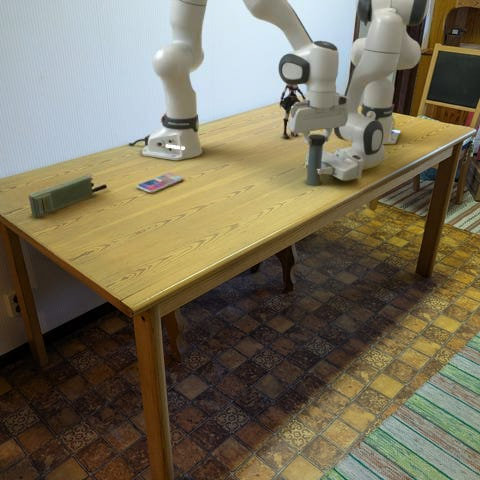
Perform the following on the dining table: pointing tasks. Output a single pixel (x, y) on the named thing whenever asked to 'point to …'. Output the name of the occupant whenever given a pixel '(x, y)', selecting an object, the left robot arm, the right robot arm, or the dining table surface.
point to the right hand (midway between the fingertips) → (312, 168)
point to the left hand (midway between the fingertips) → (316, 142)
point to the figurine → (289, 104)
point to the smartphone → (159, 182)
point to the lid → (317, 139)
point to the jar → (314, 164)
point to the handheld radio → (62, 195)
